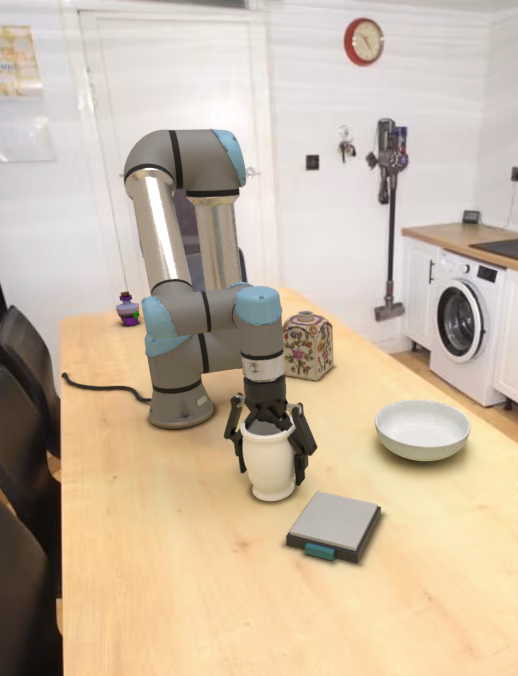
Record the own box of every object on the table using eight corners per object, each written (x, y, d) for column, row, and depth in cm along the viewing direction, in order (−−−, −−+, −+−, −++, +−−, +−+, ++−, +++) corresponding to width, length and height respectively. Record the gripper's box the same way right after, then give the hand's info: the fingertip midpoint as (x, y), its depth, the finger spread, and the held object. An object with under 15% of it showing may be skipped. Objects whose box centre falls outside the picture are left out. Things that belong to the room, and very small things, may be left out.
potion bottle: (138, 328, 194) (132, 295, 189) (114, 328, 194) (107, 295, 189) (146, 320, 202) (141, 288, 197) (123, 320, 202) (117, 288, 197)
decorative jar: (281, 375, 156) (277, 316, 149) (299, 360, 166) (296, 304, 158) (318, 382, 152) (316, 321, 145) (335, 366, 162) (333, 308, 154)
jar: (290, 509, 102) (285, 440, 95) (238, 502, 104) (230, 435, 97) (305, 476, 111) (302, 412, 105) (258, 471, 113) (252, 407, 106)
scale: (283, 548, 92) (282, 536, 91) (316, 500, 104) (316, 488, 103) (355, 567, 88) (355, 554, 87) (380, 515, 100) (381, 503, 99)
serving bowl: (407, 484, 108) (408, 456, 105) (358, 437, 125) (358, 411, 122) (488, 457, 117) (491, 430, 114) (432, 416, 134) (433, 391, 131)
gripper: (195, 373, 97) (209, 474, 106) (316, 393, 90) (320, 499, 99) (218, 358, 103) (230, 454, 113) (333, 375, 96) (335, 477, 105)
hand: (272, 475), depth 106 cm, fingers open, 11 cm apart
